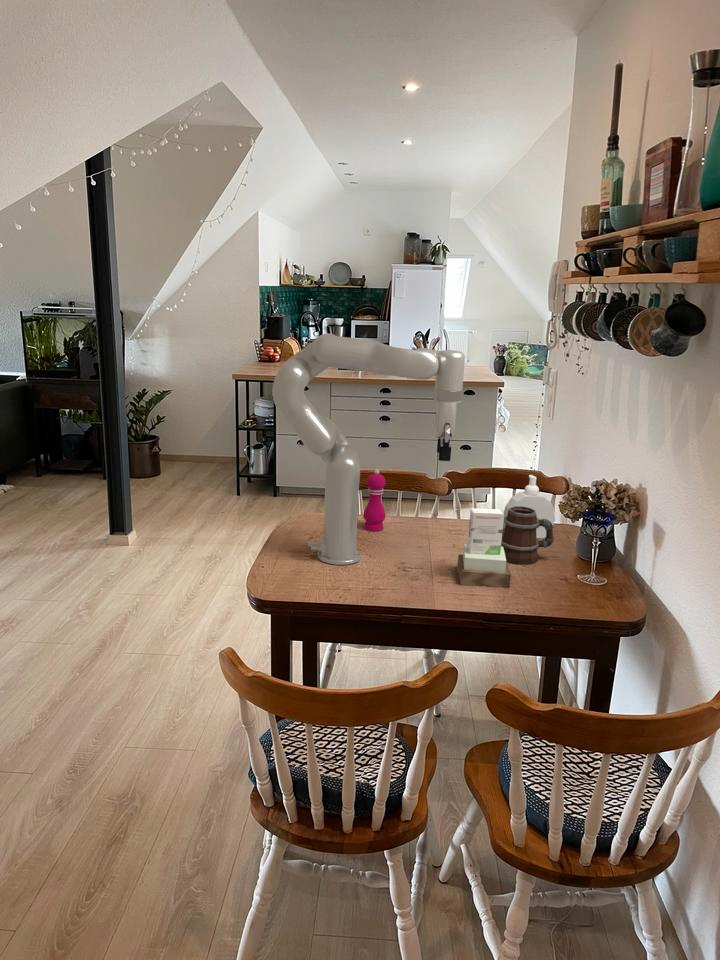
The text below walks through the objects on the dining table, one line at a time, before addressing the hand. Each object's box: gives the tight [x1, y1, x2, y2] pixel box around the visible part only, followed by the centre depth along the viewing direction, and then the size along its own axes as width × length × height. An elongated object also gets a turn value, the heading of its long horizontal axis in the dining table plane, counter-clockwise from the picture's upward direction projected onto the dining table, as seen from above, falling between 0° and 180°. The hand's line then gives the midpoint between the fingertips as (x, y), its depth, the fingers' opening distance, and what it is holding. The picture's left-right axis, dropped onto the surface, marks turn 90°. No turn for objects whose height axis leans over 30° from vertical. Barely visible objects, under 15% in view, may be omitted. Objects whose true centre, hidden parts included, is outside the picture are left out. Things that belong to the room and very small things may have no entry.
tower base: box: [457, 553, 512, 589], centre depth 204 cm, size 13×13×4 cm
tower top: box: [462, 543, 507, 573], centre depth 203 cm, size 11×11×4 cm
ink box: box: [467, 507, 504, 554], centre depth 201 cm, size 9×5×12 cm, turn 90°
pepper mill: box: [362, 468, 386, 532], centre depth 238 cm, size 7×7×20 cm
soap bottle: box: [503, 474, 556, 539], centre depth 238 cm, size 16×5×20 cm, turn 97°
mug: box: [501, 506, 555, 565], centre depth 218 cm, size 16×12×15 cm
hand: (443, 456), depth 207 cm, fingers open, 9 cm apart
